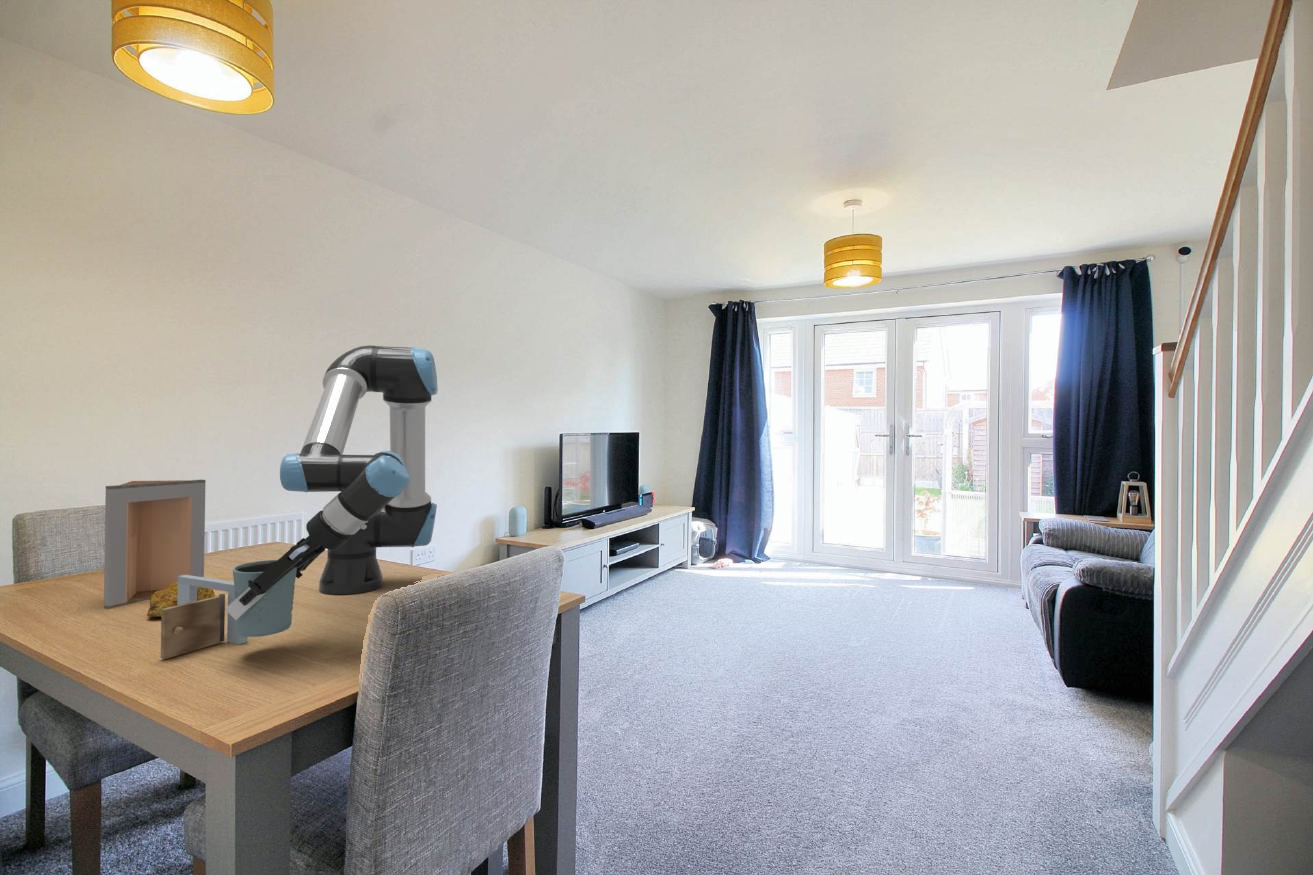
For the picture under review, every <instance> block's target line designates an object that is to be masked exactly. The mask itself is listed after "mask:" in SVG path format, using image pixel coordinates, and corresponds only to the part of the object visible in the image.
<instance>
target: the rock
mask: <svg viewBox="0 0 1313 875" xmlns="http://www.w3.org/2000/svg"><path fill="white" fill-rule="evenodd" d="M212 597H216V595H215V592H214V589H208V588H202V587H197V601H199V600H203V599H208V598H212ZM177 598H178V581H177V582H174V583H172V584H171V585H169V586H168V587H167V588H166V589H163V590H160V591H156V592H155V593H154V594H153V595H152V596H151V598H150V600H149V608H148V610H147V614H146V615H147V617H161V611H162V609H164V608H168V607H173V606H177Z"/></svg>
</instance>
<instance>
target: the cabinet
mask: <svg viewBox="0 0 1313 875" xmlns="http://www.w3.org/2000/svg"><path fill="white" fill-rule="evenodd" d="M206 482H207V481H206V479H192V480H190V479H187V480H182V479H181V480H180V479H179V480H130V481H128V482H125V483H122V484H118V485H105V503H104V504H105V505H104V506H105V509H104V510H105V511H104V514H105V516H104V576H103V578H104V579H103V582H104V583H103V587H104V588H103V609H106V610H111V609H114V608H118V607H124V606H128V605H131V604H136V603H140V602H145V601H150V598H151V596H152V595H153V594H154V593H155V592H156V591H160V590H163V589H166V588H167V587H168V586H169V585H171V584H172V583H174V582H177V581H178V576H182V575H191V576H198V577H204V578H205V542H206V541H205V540H206V539H205V536H206V534H205V529H206Z"/></svg>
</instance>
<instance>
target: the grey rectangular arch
mask: <svg viewBox="0 0 1313 875" xmlns="http://www.w3.org/2000/svg"><path fill="white" fill-rule="evenodd" d="M197 587H202V588H208V589H213V590H215V591H222V592H227V607H228V606H229V605H230V604H231V603H232V602H233V601H234V600H235V597H236V596H235V586H234V581H230V580H222V579H218V578H217V579H215V578H210V577H209V578H208V577H205V576H204V577H198V576H191V575H182V576H178V598H177V605H181V604H186V603H190V602H195V601H197ZM226 631H227V633H226V634H227V635H226V636H227V637H226V639H227V641H226V642H227V643H230V644H237V645H242V644H245V643H248V637H245V636H241V635H239V634H238V632H237V620H235V619H234V618H233V617H232V616H231V615H230V614H229V613H228V612H227V630H226Z"/></svg>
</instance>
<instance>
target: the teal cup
mask: <svg viewBox="0 0 1313 875" xmlns="http://www.w3.org/2000/svg"><path fill="white" fill-rule="evenodd" d="M277 560H278V559H271V560H270V559H268V560H267V559H266V560H259V561H257V560H256V561H252V562H246V563H241V564H239V565H236V566H234V567H233V568H232V575H233V582H234V586H235V596H236V597H235V599H236V598H238V597H239V596H240V595H241V594H242V593H243V592H244V591H245V590H246V589H247V588H248V587H249V586H248V585H249V583H248V581H249V580H251V581H254V580H255V579H256V578H257V577H258V576H259V575H261V574H262V573H263V572H264V571H265V570H267V569H268V568H269V567H270V566H271V565H273V564H274V563H275V562H276V561H277ZM296 572H297V568H294V569H293V570H292V571H290V572H289V573H288V574H287V575H285V576H284V577H283V578H282V579H280V580H279V581H278V582H277V583H276V584H274V585H273V586H272V587H271V588H269V589H268V590H267V591H266V592H265V593H266V594H264V595H263V596H262V597H261V598H260V599H259V600H258V601H257V602H256V603H255V604H254V605H252V606H251V607H250V608H249V609H248V610H247V611H246V612H245V613H244V614H243V615H242V616H240V617H239V618H238V619H237V632H238V634H239V635H241V636H245V637H247V638H248V637H249V638H256V637H257V638H260V637H268V636H271V635H276V634H279V633H283V632H285V631H287V630H288V629H289V628H291V626H292V619H293V614H292V612H293V608H294V607H293V606H294V599H295V597H294V594H295V588H296V586H295V583H296V578H297V577H296Z"/></svg>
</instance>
